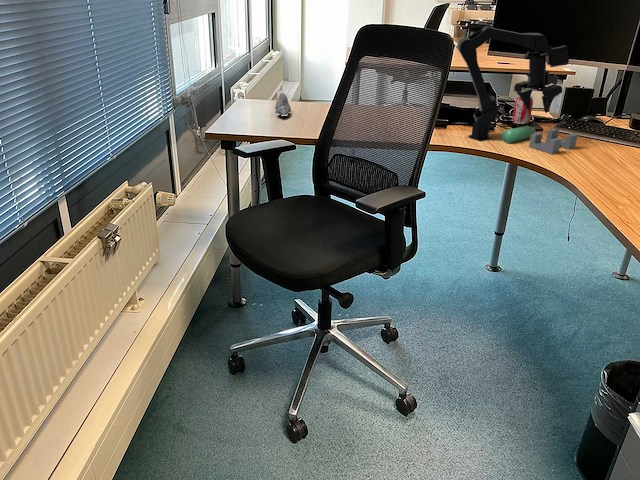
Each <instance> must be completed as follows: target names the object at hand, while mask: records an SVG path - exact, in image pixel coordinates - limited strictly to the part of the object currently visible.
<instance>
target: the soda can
mask: <svg viewBox="0 0 640 480" xmlns="http://www.w3.org/2000/svg"><path fill="white" fill-rule="evenodd" d="M517 95H518V94H517ZM533 105H534V100H533V96H532V95H531V100H530V109H527V108H526V106H525V105H524V103H523V101H522V99H521V98H520V96H519V95H518V97H517V98H516V99H515V103H514V108H513V113H512V120H513V122H516V123H520V124H526V123H530V120H531V115H532V111H533ZM513 122H512V123H513Z"/></svg>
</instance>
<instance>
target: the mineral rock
mask: <svg viewBox="0 0 640 480" xmlns="http://www.w3.org/2000/svg"><path fill="white" fill-rule="evenodd" d="M275 109H276V111H275V113H278V114H280V115H287V114H289V112H290V111H291V112H292V109H291V106H290V104H289V101H288V96H287V95H286V94H285V93H282V92H280V93H279V96H278V97H277V99H276V102H275V106H274V110H275Z"/></svg>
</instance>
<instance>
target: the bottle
mask: <svg viewBox="0 0 640 480" xmlns="http://www.w3.org/2000/svg"><path fill="white" fill-rule="evenodd" d="M534 133H536V129H535V127H531V126H530V125H526V126H518V127H515V128H510V129H506V130H504V131H502V134H501V139H502V142H504V143H505V144H510V143H515V142H520V141H522V140H526V139H530V138H531V134H534Z"/></svg>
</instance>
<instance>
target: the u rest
mask: <svg viewBox="0 0 640 480" xmlns="http://www.w3.org/2000/svg"><path fill="white" fill-rule="evenodd" d="M559 132H560V131H559V129H558V128H551V129H550V128H549V129H548V130H547V133H546V138H545V142H544V141H542V138H543V135H544V134H543V133H541V132H535V133H534V134H531V137H530V138H529V139H530V140H529V145H528V148H530V149H534V150H537V151H540V152H543V153H546V154H550V155H555V154H557V153H558V154H559V153H560V152H559V151H560V149H565V150H571V149H575V148H576V145H577V140H578V136H579V135H578V134H577V133H571V134H566V135H565V136H566V137H565V139H564V138H561V137H558V135H559Z"/></svg>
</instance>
